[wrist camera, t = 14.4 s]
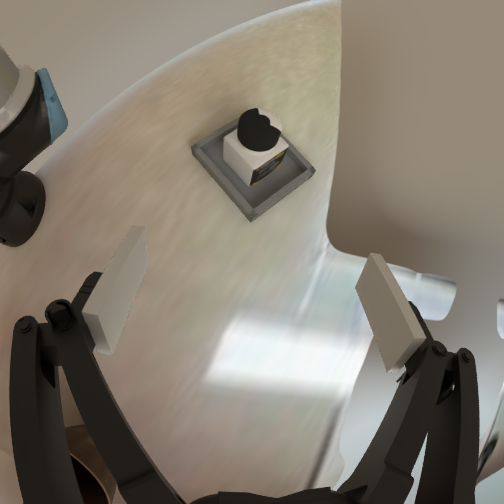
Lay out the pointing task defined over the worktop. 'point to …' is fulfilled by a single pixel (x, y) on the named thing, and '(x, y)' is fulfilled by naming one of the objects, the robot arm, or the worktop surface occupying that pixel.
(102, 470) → the plant pot
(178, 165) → the worktop surface
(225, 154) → the medicine bottle
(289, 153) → the tray
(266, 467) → the worktop surface
